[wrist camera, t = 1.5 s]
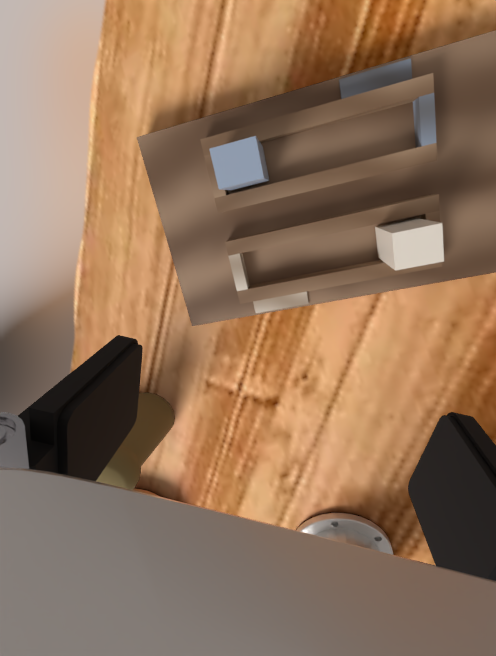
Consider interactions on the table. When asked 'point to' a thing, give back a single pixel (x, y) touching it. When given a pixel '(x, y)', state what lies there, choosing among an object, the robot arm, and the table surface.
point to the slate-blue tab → (239, 164)
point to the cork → (139, 441)
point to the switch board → (334, 185)
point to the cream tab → (410, 243)
